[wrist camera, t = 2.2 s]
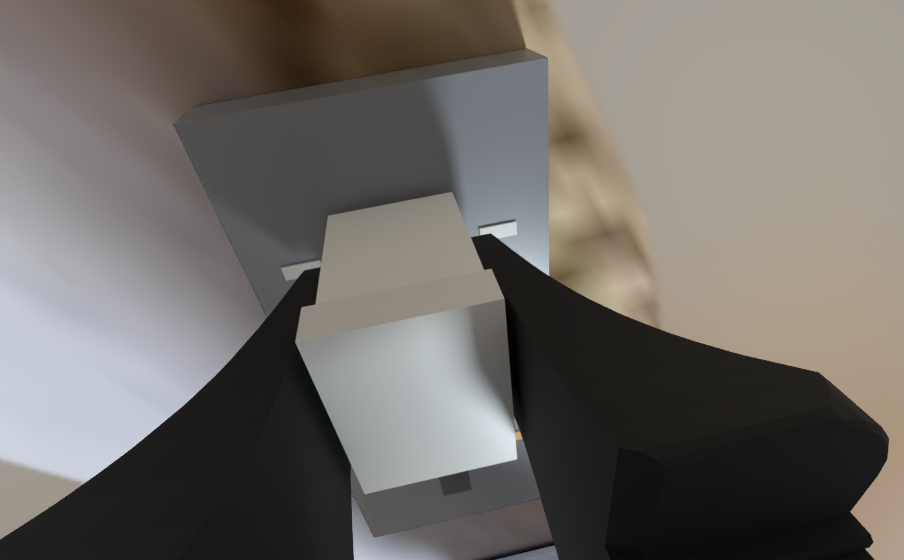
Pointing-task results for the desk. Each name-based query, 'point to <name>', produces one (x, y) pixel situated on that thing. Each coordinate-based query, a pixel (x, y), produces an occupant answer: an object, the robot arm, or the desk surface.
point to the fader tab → (409, 344)
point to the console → (385, 200)
